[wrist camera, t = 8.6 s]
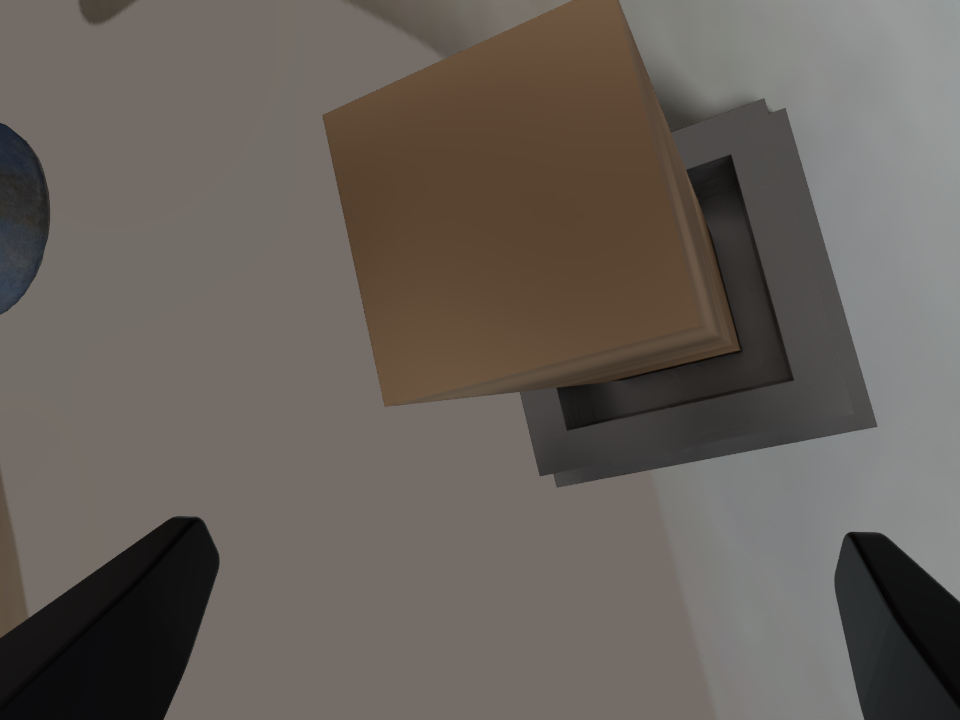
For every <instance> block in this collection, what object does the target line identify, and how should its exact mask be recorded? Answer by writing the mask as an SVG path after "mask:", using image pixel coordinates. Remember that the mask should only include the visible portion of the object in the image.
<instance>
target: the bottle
mask: <svg viewBox="0 0 960 720" xmlns="http://www.w3.org/2000/svg"><path fill="white" fill-rule="evenodd" d="M49 225H50V201H49V192H48V187H47V184H46V179H45V175H44V171H43V168H42V165H41V163H40V160H39V158H38V157H37V155H36V154H35V153H34V151H33V149H32V148H31V147H30V146H29V144H28V143H27V142H26V141H25V140H24V139H23V138H21V137H20V136H19V135H18V134H17V133H15V132H14V131H13V130H12V129H11V128H9V127H8V126H6V125H4V124H1V123H0V314H2V313H4V312H6V311H8V310H9V309H10V308H11V307H12V306H13V305H14V304H16V303H17V302H18V301H19V299H20V298H21V297H22V296H23V295H24V294H25V292H26V291H27V289H28V287H29V286H30V284H31V282H32V281H33V280H34V278H35V277H36V274H37V272H38V270H39V267H40V265H41V262H42V258H43V254H44V249H45V246H46V242H47V239H48V233H49Z"/></svg>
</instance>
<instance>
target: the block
mask: <svg viewBox="0 0 960 720" xmlns="http://www.w3.org/2000/svg"><path fill="white" fill-rule="evenodd" d="M323 120H324V124H325V129H326V134H327V138H328V143H329V148H330V153H331V157H332V162H333V167H334V171H335V176H336V181H337V185H338V190H339V195H340V199H341V204H342V209H343V213H344V218H345V223H346V227H347V232H348V237H349V242H350V246H351V251H352V256H353V260H354V265H355V270H356V275H357V279H358V284H359V289H360V293H361V298H362V303H363V308H364V312H365V317H366V322H367V326H368V331H369V336H370V340H371V345H372V350H373V355H374V359H375V364H376V368H377V373H378V378H379V383H380V387H381V392H382V397H383V401H384V406H385V407H387V406H395V405H405V404H414V403H423V402H432V401H441V400H450V399H459V398H468V397H477V396H486V395H495V394H504V393H513V392H522V391H531V390H540V389H549V388H558V387H567V386H576V385H585V384H594V383H603V382H611V381H620V380H625V379H629V378H634V377H638V376H642V375H646V374H651V373H655V372H659V371H663V370H667V369H672V368H676V367H680V366H684V365H688V364H693V363H697V362H701V361H705V360H710V359H714V358H718V357H722V356H726V355H731V354H735V353H739V352H742V348H741V344H740V341H739V337H738V333H737V329H736V326H735V322H734V318H733V314H732V311H731V307H730V303H729V299H728V296H727V292H726V288H725V284H724V281H723V277H722V273H721V269H720V266H719V262H718V258H717V254H716V251H715V247H714V243H713V239H712V236H711V232H710V230H709V227H708V225H707V222H706V220H705V217H704V215H703V212H702V210H701V207H700V205H699V202H698V200H697V197H696V195H695V192H694V189H693V187H692V184H691V182H690V179H689V177H688V174H687V172H686V169H685V167H684V164H683V162H682V159H681V157H680V154H679V152H678V149H677V147H676V144H675V142H674V139H673V136H672V134H671V131H670V129H669V126H668V124H667V121H666V119H665V116H664V114H663V111H662V109H661V106H660V104H659V101H658V99H657V96H656V94H655V91H654V89H653V86H652V83H651V81H650V78H649V76H648V73H647V71H646V68H645V66H644V63H643V61H642V58H641V56H640V53H639V51H638V48H637V46H636V43H635V41H634V38H633V35H632V33H631V30H630V28H629V25H628V23H627V20H626V18H625V15H624V13H623V10H622V8H621V5H620V3H619V0H573V1H571V2H568V3H566V4H564V5H562V6H560V7H557V8H555V9H553V10H551V11H549V12H547V13H544V14H542V15H540V16H538V17H536V18H533V19H531V20H529V21H527V22H525V23H523V24H520V25H518V26H516V27H514V28H512V29H510V30H507V31H505V32H503V33H501V34H499V35H496V36H494V37H492V38H490V39H488V40H486V41H483V42H481V43H479V44H477V45H475V46H472V47H470V48H468V49H466V50H464V51H462V52H459V53H457V54H455V55H453V56H451V57H448V58H446V59H444V60H442V61H440V62H438V63H435V64H433V65H431V66H429V67H427V68H425V69H422V70H421V71H418V72H416V73H414V74H411V75H409V76H407V77H405V78H403V79H400V80H398V81H396V82H394V83H392V84H390V85H387V86H385V87H383V88H381V89H379V90H376V91H375V92H372V93H370V94H368V95H366V96H363V97H361V98H359V99H357V100H355V101H352V102H350V103H348V104H346V105H344V106H342V107H339V108H337V109H335V110H333V111H331V112H329V113H326V114H324V115H323Z"/></svg>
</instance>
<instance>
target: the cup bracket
mask: <svg viewBox="0 0 960 720" xmlns="http://www.w3.org/2000/svg"><path fill="white" fill-rule="evenodd" d="M671 134H672V136H673V139H674V142H675V144H676V147H677V149H678V152H679V154H680V157H681V159H682V162H683V164H684V167H685V169H686V172H687V174H688V177H689V179H690V182H691V184H692V187H693V189H694V192H695V195H696V197H697V200H698V202H699V205H700V207H701V210H702V212H703V215H704V217H705V220H706V222H707V225H708V227H709V230H710V232H711V236H712V239H713V243H714V247H715V251H716V254H717V258H718V262H719V266H720V269H721V273H722V277H723V281H724V284H725V288H726V292H727V296H728V299H729V303H730V307H731V311H732V314H733V318H734V322H735V326H736V329H737V333H738V337H739V341H740V344H741V348H742V352H739V353H735V354H731V355H726V356H722V357H718V358H714V359H710V360H705V361H701V362H697V363H693V364H688V365H684V366H680V367H676V368H672V369H667V370H663V371H659V372H655V373H651V374H646V375H642V376H638V377H634V378H629V379H625V380H620V381H611V382H603V383H594V384H585V385H576V386H567V387H558V388H549V389H540V390H531V391H522V392H520V394H521V399H522V403H523V407H524V412H525V416H526V420H527V424H528V428H529V433H530V437H531V441H532V445H533V449H534V454H535V458H536V462H537V466H538V471H539V474H540V476H543V475H548V474H554V478H555V482H556V486H557V487H562V486H567V485H573V484H578V483H583V482H589V481H594V480H599V479H604V478H610V477H615V476H620V475H625V474H631V473H636V472H641V471H647V470H652V469H657V468H662V467H668V466H673V465H678V464H683V463H689V462H694V461H699V460H705V459H710V458H715V457H720V456H726V455H731V454H736V453H741V452H747V451H752V450H757V449H762V448H768V447H773V446H778V445H784V444H789V443H794V442H799V441H805V440H810V439H815V438H820V437H826V436H831V435H836V434H842V433H847V432H852V431H857V430H863V429H868V428H873V427H877V424H876V420H875V417H874V413H873V410H872V406H871V403H870V399H869V396H868V393H867V389H866V386H865V382H864V379H863V375H862V372H861V368H860V365H859V361H858V358H857V354H856V351H855V348H854V344H853V341H852V337H851V334H850V330H849V327H848V323H847V320H846V316H845V313H844V309H843V306H842V303H841V299H840V296H839V292H838V289H837V285H836V282H835V278H834V275H833V271H832V268H831V264H830V261H829V258H828V254H827V251H826V247H825V244H824V240H823V237H822V233H821V230H820V226H819V223H818V219H817V216H816V213H815V209H814V206H813V202H812V199H811V195H810V192H809V188H808V185H807V181H806V178H805V174H804V171H803V168H802V164H801V161H800V157H799V154H798V150H797V147H796V143H795V140H794V136H793V133H792V129H791V126H790V123H789V119H788V116H787V112H786V109H785V108H784V109H781V110H778V111H775V112H772V113H770V114H769V113H768V109H767V106H766V103H765V99H761V100H758V101H756V102H753V103H750V104H747V105H745V106H742V107H739V108H737V109H734V110H731V111H728V112H726V113H723V114H720V115H717V116H715V117H712V118H709V119H707V120H704V121H701V122H698V123H696V124H693V125H690V126H688V127H685V128H682V129H679V130H677V131H674V132H671Z"/></svg>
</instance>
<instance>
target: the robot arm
mask: <svg viewBox="0 0 960 720" xmlns="http://www.w3.org/2000/svg"><path fill="white" fill-rule="evenodd" d="M218 569H219V553H218V551H217V548H216V546H215V544H214V542H213V540H212V537H211V535H210V533H209V531H208V529H207V527H206V524H205V523H204V521H203V520H202V519H201V518H199V517H187V516H177V517H173V518H171V519H169V520H167V521H166V522H165V523H163V524H162V525H160V526H159V527H157V528H156V529H155V530H153V531H152V532H150V533H149V534H147V535H146V536H145V537H143V538H142V539H140V540H139V541H138V542H136V543H135V544H133V545H132V546H131V547H129V548H128V549H126V550H125V551H123V552H122V553H121V554H119V555H118V556H116V557H115V558H113V559H112V560H111V561H109V562H108V563H106V564H105V565H104V566H102V567H101V568H99V569H98V570H96V571H95V572H94V573H92V574H91V575H89V576H88V577H87V578H85V579H84V580H82V581H81V582H79V583H78V584H77V585H75V586H74V587H72V588H71V589H70V590H68V591H67V592H65V593H64V594H63V595H61V596H60V597H58V598H57V599H55V600H54V601H53V602H51V603H50V604H48V605H47V606H45V607H44V608H43V609H41V610H40V611H38V612H37V613H35V614H34V615H33V616H31V617H30V618H28V619H27V620H26V621H24V622H23V623H21V624H20V625H18V626H17V627H16V628H14V629H13V630H11V631H10V632H9V633H7V634H6V635H4V636H3V637H1V638H0V720H164V717H165V715H166V713H167V711H168V708H169V706H170V703H171V701H172V699H173V697H174V695H175V692H176V690H177V687H178V685H179V683H180V681H181V678H182V676H183V674H184V671H185V669H186V666H187V664H188V661H189V658H190V655H191V652H192V650H193V647H194V643H195V640H196V637H197V634H198V631H199V628H200V625H201V622H202V619H203V616H204V613H205V610H206V606H207V604H208V600H209V597H210V594H211V591H212V588H213V585H214V582H215V579H216V576H217V573H218ZM834 582H835V592H836V597H837V602H838V607H839V611H840V616H841V620H842V625H843V630H844V634H845V639H846V643H847V648H848V652H849V657H850V662H851V666H852V671H853V675H854V680H855V685H856V689H857V693H858V698H859V702H860V706H861V710H862V713H863V716H864V720H960V602H959V601H958V600H957V599H956V598H955V597H954V596H953V595H952V594H950V593H949V592H948V591H947V590H946V589H945V588H944V587H943V586H942V585H940V584H939V583H938V582H937V581H936V580H935V579H934V578H933V577H931V576H930V575H929V574H928V573H927V572H926V571H925V570H924V569H923V568H921V567H920V566H919V565H918V564H917V563H916V562H915V561H914V560H912V559H911V558H910V557H909V556H908V555H907V554H906V553H905V552H903V551H902V550H901V549H900V548H899V547H898V546H897V545H896V544H895V543H893V542H892V541H891V540H890V539H889V538H888V537H886V536H885V535H883V534H881V533H877V532H849V533H847V534H846V535H845V537H844V539H843V543H842V547H841V551H840V555H839V559H838V563H837V568H836V572H835V579H834Z"/></svg>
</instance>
